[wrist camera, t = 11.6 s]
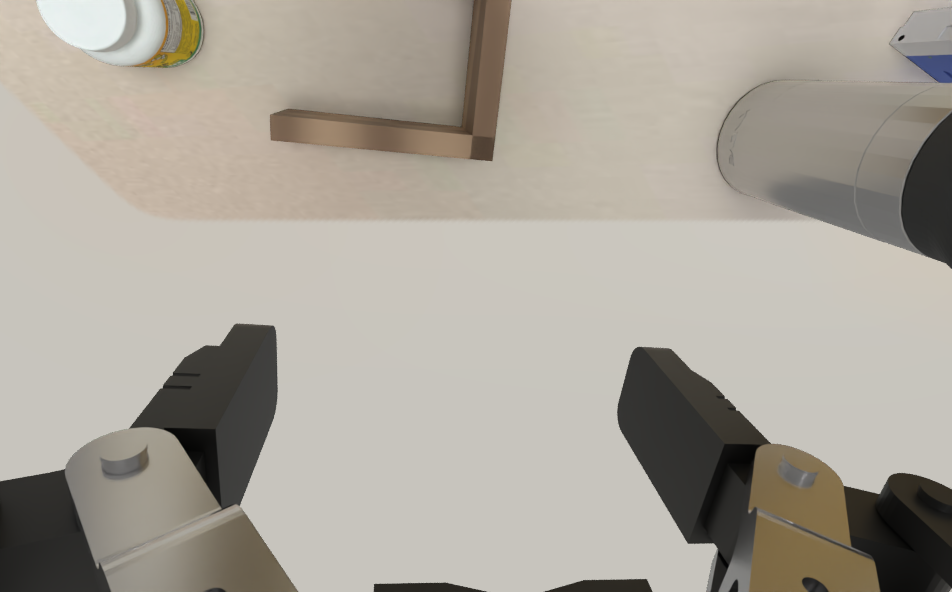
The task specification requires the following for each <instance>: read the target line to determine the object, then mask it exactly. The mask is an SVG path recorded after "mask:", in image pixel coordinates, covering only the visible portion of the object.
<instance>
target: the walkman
mask: <svg viewBox="0 0 952 592" xmlns="http://www.w3.org/2000/svg"><path fill="white" fill-rule="evenodd" d="M890 45H891V46H893V47H894V48H895V49H896V50H898V51H899V52H900V53H902V54H903V55H904V56H906V57H907V58H908V59H910V60H911V61H912V62H914V63H915V64H916V65H917V66H919V67H920V68H921V69H923V70H924V71H925V72H927V73H928V74H929V75H930V76H932V77H933V78H934V79H936V80H937V81H938V82H940V83H952V7H949V8H940V9H932V10H924V11H915V12H913V14H912V15H911V17H910V18H909V20H908V21H907V22H906V24H905V25H904V27H901V28H900V29H899V31H898V32H897V33H896V35H895V36H894V38H893V39H892V41H891V42H890Z"/></svg>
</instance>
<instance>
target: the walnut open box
mask: <svg viewBox="0 0 952 592" xmlns="http://www.w3.org/2000/svg"><path fill="white" fill-rule="evenodd" d="M510 9H511V0H474V5H473V15H472V26H471V36H470V47H469V57H468V67H467V78H466V88H465V98H464V109H463V119H462V127H456V126H447V125H437V124H428V123H418V122H409V121H399V120H389V119H380V118H370V117H361V116H351V115H342V114H332V113H323V112H313V111H304V110H294V109H286V110H283V111H280V112H277V113H274V114H271V115H270V131H271V140H274V141H284V142H295V143H306V144H316V145H327V146H337V147H348V148H358V149H369V150H380V151H390V152H401V153H411V154H422V155H432V156H443V157H454V158H464V159H475V160H485V161H492V159H493V151H494V142H495V134H496V126H497V117H498V109H499V101H500V92H501V84H502V76H503V67H504V59H505V50H506V42H507V34H508V25H509V17H510Z"/></svg>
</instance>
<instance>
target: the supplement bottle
mask: <svg viewBox="0 0 952 592" xmlns="http://www.w3.org/2000/svg"><path fill="white" fill-rule="evenodd" d="M36 2H37V6H38V9H39V11H40V14H41V16H42V18H43V20H44V21H45V23H46V24H47V26H48V27H49V28H50V29H51V30H52V31H53V32H54V33H55V34H56V35H57V36H58V37H59V38H60V39H62V40H63V41H65V42H66V43H68V44H70V45H72V46H74V47H77V48H79V49H81V50H82V51H83V52H85V53H86V54H88V55H89V56H91V57H93V58H95V59H96V60H99V61H101V62H104V63H107V64H110V65H116V66H128V67H161V68H168V67H176V66H179V65H182V64H184V63H186V62H188V61H190V60H191V59H192V58H194V57H195V56H196V54H197V53H198V51H199V50H200V47H201V45H202V41H203V33H204V30H203V22H202V18H201V15H200V13H199V10H198V8H197V6H196V5H195V3H194V2H193V0H36Z"/></svg>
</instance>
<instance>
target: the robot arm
mask: <svg viewBox="0 0 952 592" xmlns="http://www.w3.org/2000/svg"><path fill="white" fill-rule="evenodd" d="M718 162H719V166H720V170H721V172H722V174H723V176H724V178H725V180H726V181H727V182H728V183H729V184H730V186H731V187H733V188H734V189H736V190H737V191H739V192H740V193H743V194H746V195H749V196H752V197H755V198H758V199H760V200H763V201H766V202H769V203H771V204H774V205H777V206H780V207H783V208H786V209H789V210H791V211H794V212H797V213H800V214H803V215H806V216H809V217H812V218H815V219H818V220H821V221H823V222H826V223H829V224H832V225H835V226H838V227H841V228H844V229H847V230H850V231H853V232H856V233H859V234H861V235H864V236H867V237H870V238H873V239H876V240H879V241H882V242H886V243H888V244H892V245H894V246H897V247H900V248H903V249H906V250H909V251H912V252H915V253H918V254H921V255H924V256H926V257H930V258H932V259H935V260H938V261H941V262H944V263H946V264H947V265H948V266H949V267H950V268H951V269H952V83H922V82H865V81H820V80H779V81H772V82H769V83H766V84H763V85H760V86H759V87H757V88H755V89H753V90H752V91H750V92H749V93H748V94H746V95H745V96H744V97H743V98H742V99H741V100H740V101H739V102H738V103H737V104H736V105H735V107H734V108H733V109H732V110H731V112H730V114H729V115H728V117H727V119H726V121H725V122H724V125H723V128H722V130H721V133H720V137H719V142H718ZM277 389H278V388H277V347H276V330H275V327H274V326H269V325H252V324H235V325H234V326H233V328H232V329H231V331H230V332H229V333H228V335H227V336H226V338H225V339H224V341H223V342H222V344H221V345H220V346H204V347H202V348H200V349H199V350H197V351H195V352H194V353H192V354H190V355H189V356H187V357H185V358H184V359H183V361H182V362H181V363H180V364H179V366H178V367H177V368H176V370H175V371H174V372H173V376H170V377H169V378H168V380H167V381H166V382H165V383H164V385H163V389H160V390H159V391H158V392H157V394H156V395H155V396H154V397H153V399H152V400H151V401H150V403H149V404H148V405H147V406H146V408H145V409H144V410H143V412H142V413H141V414H140V415H139V417H138V418H137V419H136V421H135V422H134V423H133V424H132V426H131V427H130V428H129V429H124V430H120V431H116V432H112V433H109V434H107V435H104V436H101V437H99V438H97V439H95V440H93V441H91V442H89V443H88V444H86V445H84V446H83V447H82V448H80V449H79V450H78V451H77V452H76V453H74V454H73V456H72V457H71V458H70V460H69V461H68V463H67V465H66V468H65V469H64V470H61V471H55V472H50V473H45V474H39V475H34V476H28V477H23V478H17V479H12V480H6V481H0V592H298V591H297V589H296V588H295V586H294V585H293V583H292V582H291V580H290V579H289V577H288V576H287V575H286V573H285V571H284V570H283V568H282V567H281V565H280V564H279V563H278V561H277V560H276V558H275V557H274V555H273V554H272V552H271V551H270V549H269V548H268V546H267V545H266V543H265V542H264V540H263V539H262V537H261V536H260V534H259V533H258V531H257V530H256V529H255V527H254V525H253V524H252V522H251V521H250V520H249V518H248V517H247V515H246V514H245V512H244V511H243V510H242V508H241V507H240V504H241V501H242V498H243V496H244V493H245V491H246V488H247V486H248V483H249V481H250V478H251V475H252V473H253V470H254V467H255V465H256V463H257V460H258V457H259V455H260V452H261V450H262V447H263V445H264V442H265V439H266V437H267V434H268V431H269V429H270V426H271V424H272V421H273V419H274V415H275V410H276V404H277V392H278V390H277ZM617 413H618V423H619V427H620V430H621V432H622V433H623V435H624V437H625V438H626V440H627V441H628V443H629V445H630V447H631V448H632V450H633V452H634V454H635V455H636V457H637V459H638V460H639V462H640V464H641V465H642V466H643V469H644V470H645V472H646V474H647V475H648V477H649V479H650V480H651V482H652V484H653V486H654V487H655V489H656V491H657V492H658V494H659V496H660V497H661V499H662V501H663V502H664V504H665V506H666V507H667V509H668V511H669V512H670V514H671V516H672V518H673V519H674V521H675V522H676V524H677V526H678V528H679V529H680V531H681V533H682V534H683V536H684V538H685V539H686V541H687V543H688V544H693V543H694V544H696V543H697V544H699V543H714V544H715V545H716V546H717V548H718V549H717V551H716V554H715V556H714V559H713V561H712V565H711V570H710V575H709V580H708V585H707V590H706V592H949V591H950V590H951V588H952V489H950V488H948V487H946V486H944V485H942V484H940V483H937V482H935V481H932V480H930V479H927V478H924V477H921V476H917V475H913V474H906V473H897V474H893V475H891V476H890V477H889V478H888V480H887V482H886V484H885V485H884V488H883V489H882V491H881V493H880V494H876V493H872V492H867V491H863V490H859V489H855V488H851V487H846V486H843V483H842V481H841V479H840V477H839V476H838V475H837V474H836V473H835V472H834V471H833V470H832V469H831V468H830V467H829V466H828V465H827V464H825V463H824V462H822V461H821V460H819V459H818V458H816V457H814V456H812V455H810V454H808V453H806V452H804V451H801V450H799V449H796V448H793V447H790V446H786V445H781V444H771V443H770V442H769V441H768V440H767V439H766V438H765V437H764V436H763V435H762V434H761V433H760V432H759V431H758V430H757V429H756V428H755V427H754V426H753V425H752V424H751V423H750V422H749V421H748V420H747V419H746V418H745V417H744V416H743V415H742V414H741V413H740V412H739V411H736V408H735V406H733V405H732V404H731V402H730V401H729V400H728V399H725V397H724V395H723V394H722V393H721V392H720V391H719V390H718V389H717V388H716V387H715V386H714V385H713V384H712V383H711V382H709V381H708V380H706V379H705V378H703V377H701V376H700V375H698V374H697V373H695V372H693V371H692V370H690V368H689V367H688V366H687V365H686V364H685V363H684V362H683V361H682V360H681V359H680V358H679V357H678V356H677V355H676V354H675V353H674V352H673V351H672V350H671V349H668V348H652V347H637V348H635V349H634V351H633V352H632V355H631V358H630V361H629V365H628V369H627V373H626V376H625V380H624V384H623V388H622V391H621V396H620V399H619V403H618V411H617ZM374 592H486V591H481V590H476V589H472V588H467V587H463V586H458V585H453V584H449V583H403V584H374ZM545 592H652V590H651V587H650V585H649V583H648V581H647V579H629V580H628V579H627V580H583V581H580V582H576V583H573V584H569V585H566V586H562V587H559V588H555V589H552V590H549V591H545Z"/></svg>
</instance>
